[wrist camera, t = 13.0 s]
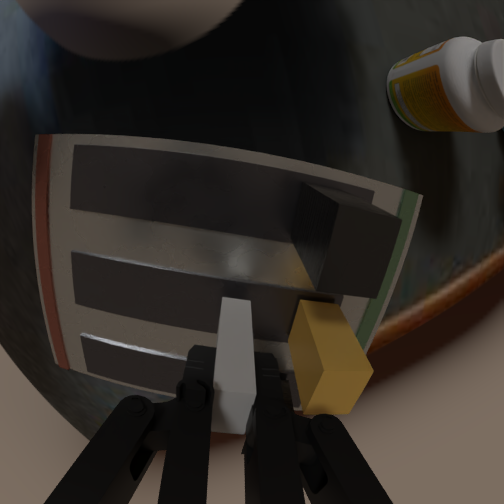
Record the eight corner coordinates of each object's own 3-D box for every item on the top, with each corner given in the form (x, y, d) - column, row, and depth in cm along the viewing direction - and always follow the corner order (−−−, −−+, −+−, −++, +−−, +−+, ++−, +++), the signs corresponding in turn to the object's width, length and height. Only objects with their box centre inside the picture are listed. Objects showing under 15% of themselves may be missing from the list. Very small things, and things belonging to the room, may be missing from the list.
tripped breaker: (287, 340, 18) (303, 414, 12) (300, 299, 17) (324, 370, 11) (323, 343, 18) (348, 413, 12) (338, 304, 17) (373, 371, 11)
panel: (69, 343, 22) (21, 415, 13) (60, 133, 16) (-40, 141, 7) (328, 386, 24) (354, 472, 15) (400, 187, 18) (497, 224, 9)
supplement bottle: (435, 144, 17) (538, 158, 8) (375, 110, 16) (476, 93, 7) (449, 84, 15) (545, 72, 6) (393, 47, 14) (482, 3, 5)
